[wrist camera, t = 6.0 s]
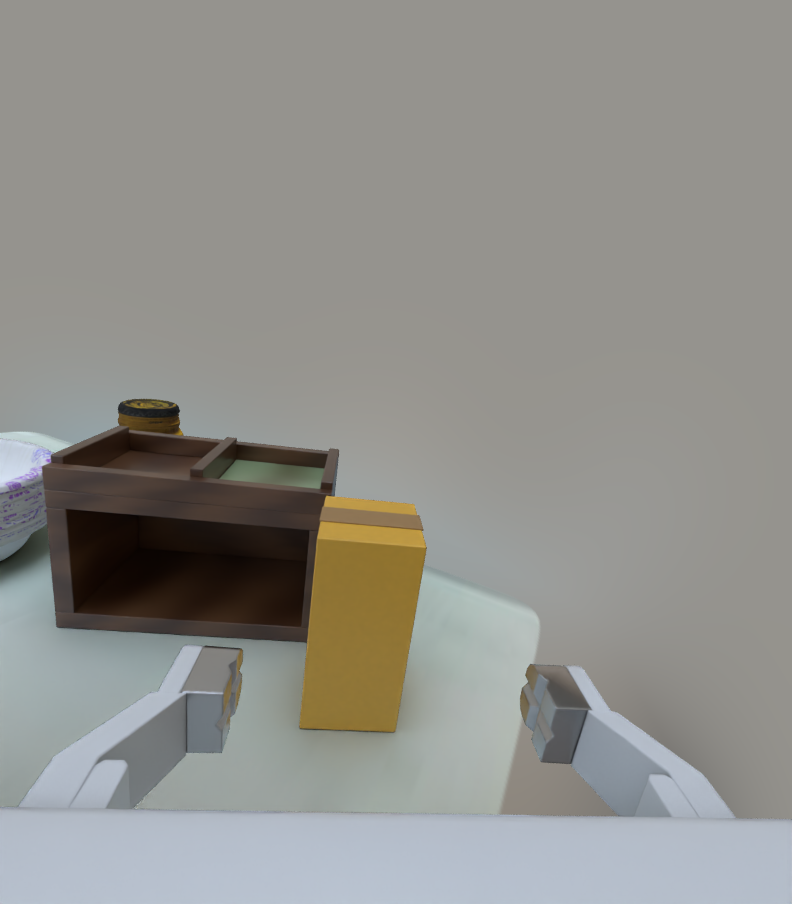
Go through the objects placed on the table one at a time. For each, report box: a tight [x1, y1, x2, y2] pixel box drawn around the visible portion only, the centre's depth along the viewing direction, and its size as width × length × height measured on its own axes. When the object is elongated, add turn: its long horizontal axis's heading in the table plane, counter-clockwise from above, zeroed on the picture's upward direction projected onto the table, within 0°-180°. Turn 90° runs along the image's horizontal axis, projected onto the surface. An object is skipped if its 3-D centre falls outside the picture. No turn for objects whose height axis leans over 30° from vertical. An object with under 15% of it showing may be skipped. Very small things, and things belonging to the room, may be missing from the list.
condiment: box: [118, 399, 183, 436], centre depth 44 cm, size 7×8×12 cm
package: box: [299, 496, 427, 732], centre depth 26 cm, size 6×6×12 cm
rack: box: [42, 426, 339, 642], centre depth 33 cm, size 17×10×12 cm, turn 95°
